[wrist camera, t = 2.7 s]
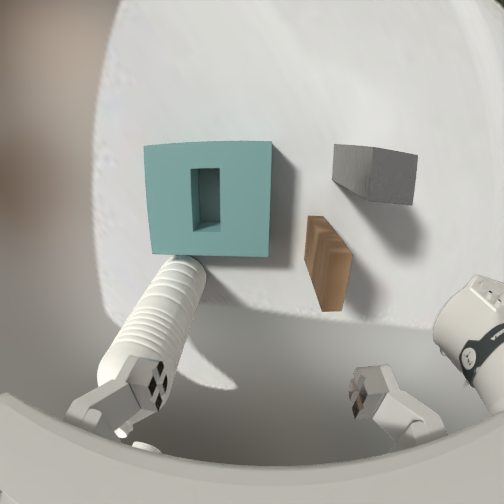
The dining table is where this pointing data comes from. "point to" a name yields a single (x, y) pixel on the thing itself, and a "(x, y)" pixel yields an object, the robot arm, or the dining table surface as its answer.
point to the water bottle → (157, 328)
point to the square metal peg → (376, 173)
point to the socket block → (187, 198)
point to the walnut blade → (327, 263)
